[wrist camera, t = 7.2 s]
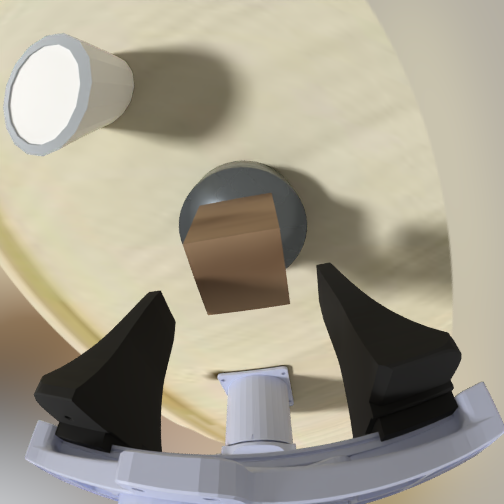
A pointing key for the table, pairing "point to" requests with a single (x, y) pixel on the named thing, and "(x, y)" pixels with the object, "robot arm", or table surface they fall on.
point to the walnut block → (238, 255)
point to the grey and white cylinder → (64, 93)
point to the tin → (249, 184)
